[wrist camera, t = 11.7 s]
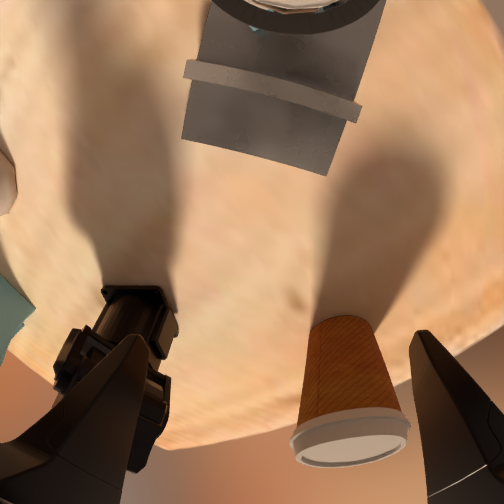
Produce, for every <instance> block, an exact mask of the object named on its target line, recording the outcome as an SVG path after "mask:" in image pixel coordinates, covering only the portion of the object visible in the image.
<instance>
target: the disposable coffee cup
mask: <svg viewBox="0 0 504 504" xmlns="http://www.w3.org/2000/svg"><path fill="white" fill-rule="evenodd" d="M410 427H411V425H410V422H409V421H408V419H407V418H406V417H405V415H404V414H403V413H402V411H401V409H400V405H399V403H398V399H397V397H396V394H395V391H394V388H393V385H392V382H391V379H390V376H389V373H388V371H387V368H386V365H385V362H384V360H383V357H382V354H381V351H380V349H379V346H378V344H377V341H376V338H375V336H374V334H373V331H372V328H371V326H370V325H369V323H368V322H367V321H365V320H363V319H361V318H358V317H354V316H340V317H334V318H331V319H328V320H326V321H323V322H322V323H320V324H319V325H317V326H316V327H315V328H314V329H313V330H312V331H311V333H310V335H309V340H308V350H307V359H306V366H305V373H304V382H303V388H302V395H301V402H300V409H299V416H298V422H297V428H296V429H295V431H294V433H293V436H292V437H291V440H290V447H291V448H292V449H293V450H294V454H295V458H296V460H297V461H298V462H299V463H301V464H304V465H307V466H311V467H319V468H341V467H350V466H358V465H363V464H367V463H371V462H375V461H378V460H381V459H384V458H386V457H389V456H391V455H393V454H395V453H397V452H398V451H400V450H401V449H402V448H404V447H405V445H406V443H407V433H408V432H409V430H410Z"/></svg>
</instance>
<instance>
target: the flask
mask: <svg viewBox="0 0 504 504" xmlns="http://www.w3.org/2000/svg"><path fill="white" fill-rule="evenodd" d="M16 198H17V191H16V181H15V170H14V167H13V166H12V165H11V164H10V162H9V161H8V160H7V159H6V157H5V156H4V155H3V153H2V152H1V151H0V216H2V215H5V214H8V213H9V212H10V210H11V208H12V206H13V204H14V202H15V200H16Z"/></svg>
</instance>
